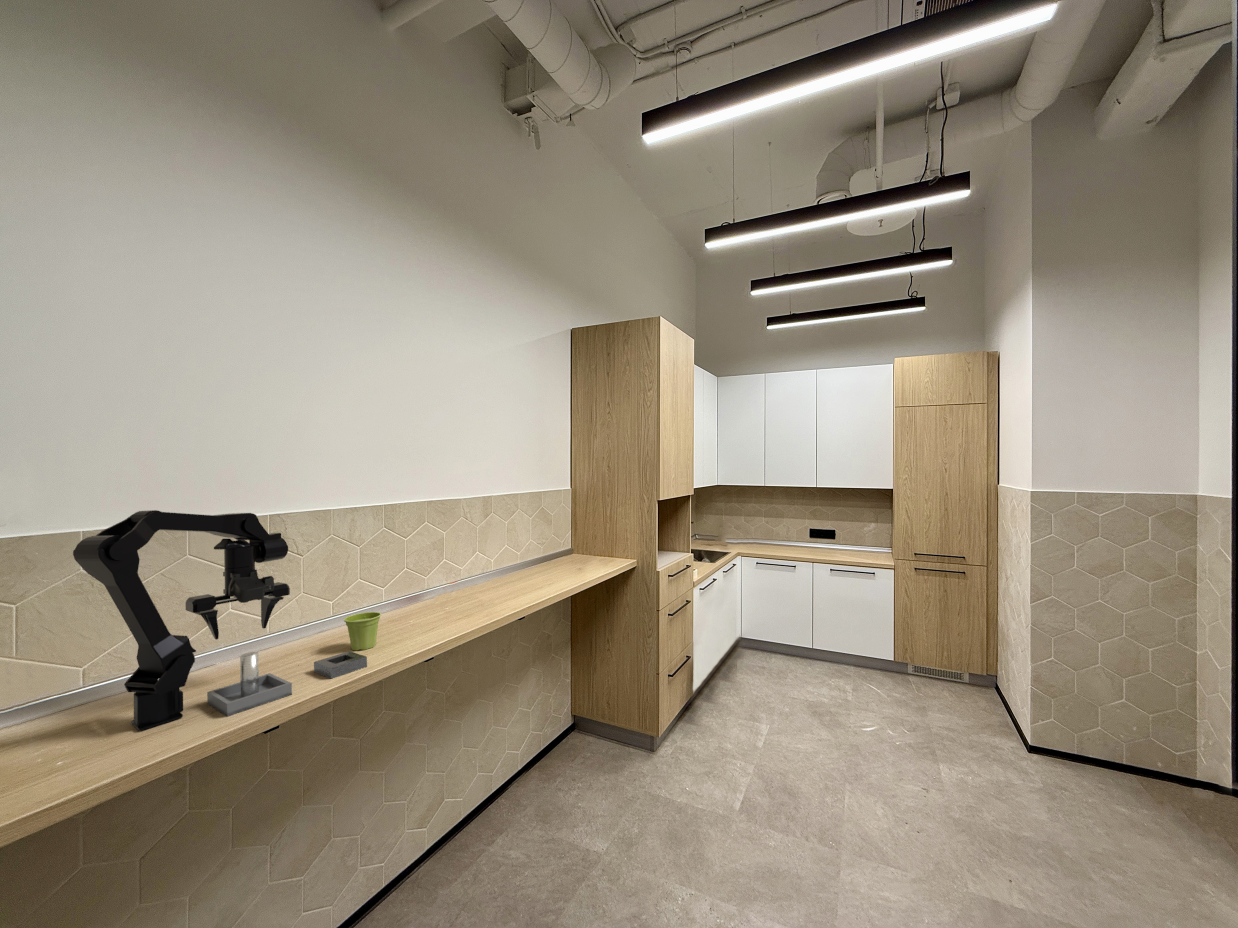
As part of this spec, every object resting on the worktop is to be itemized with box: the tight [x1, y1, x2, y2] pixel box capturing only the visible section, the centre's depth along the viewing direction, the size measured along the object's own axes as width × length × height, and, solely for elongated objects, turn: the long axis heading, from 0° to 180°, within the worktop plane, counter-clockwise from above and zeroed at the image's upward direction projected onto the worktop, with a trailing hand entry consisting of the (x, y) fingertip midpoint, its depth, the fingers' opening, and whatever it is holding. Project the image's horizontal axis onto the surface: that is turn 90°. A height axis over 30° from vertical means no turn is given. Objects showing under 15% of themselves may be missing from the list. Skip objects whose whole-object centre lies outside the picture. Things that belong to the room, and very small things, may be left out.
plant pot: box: [343, 611, 382, 651], centre depth 139 cm, size 9×9×9 cm
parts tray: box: [206, 672, 293, 717], centre depth 107 cm, size 12×12×2 cm
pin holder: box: [313, 650, 368, 679], centre depth 122 cm, size 9×9×2 cm
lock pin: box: [239, 651, 260, 698], centre depth 107 cm, size 3×3×9 cm
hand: (241, 633), depth 115 cm, fingers open, 9 cm apart
